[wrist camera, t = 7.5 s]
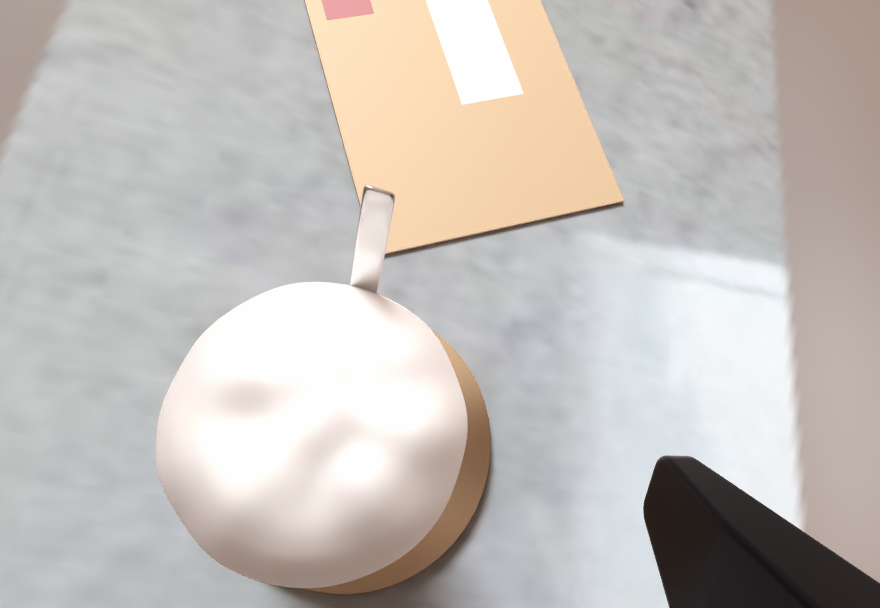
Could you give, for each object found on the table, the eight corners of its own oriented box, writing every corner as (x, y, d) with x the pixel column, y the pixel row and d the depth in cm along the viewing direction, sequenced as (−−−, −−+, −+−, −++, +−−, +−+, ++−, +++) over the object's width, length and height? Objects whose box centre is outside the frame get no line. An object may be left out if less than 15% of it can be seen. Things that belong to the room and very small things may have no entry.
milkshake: (450, 379, 17) (539, 237, 8) (396, 567, 16) (430, 667, 6) (305, 334, 17) (223, 138, 8) (234, 517, 16) (23, 544, 6)
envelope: (623, 201, 21) (624, 200, 20) (374, 256, 19) (374, 255, 19) (516, -53, 24) (517, -55, 24) (297, -25, 22) (297, -27, 22)
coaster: (523, 540, 17) (527, 541, 16) (237, 634, 15) (234, 637, 15) (445, 284, 19) (447, 280, 18) (190, 345, 17) (186, 341, 17)
